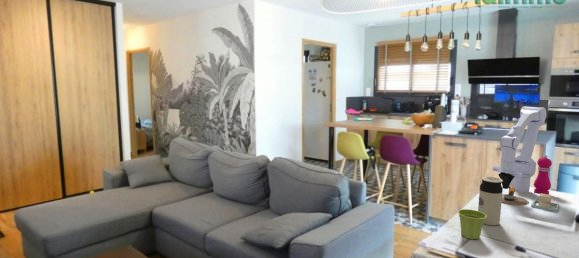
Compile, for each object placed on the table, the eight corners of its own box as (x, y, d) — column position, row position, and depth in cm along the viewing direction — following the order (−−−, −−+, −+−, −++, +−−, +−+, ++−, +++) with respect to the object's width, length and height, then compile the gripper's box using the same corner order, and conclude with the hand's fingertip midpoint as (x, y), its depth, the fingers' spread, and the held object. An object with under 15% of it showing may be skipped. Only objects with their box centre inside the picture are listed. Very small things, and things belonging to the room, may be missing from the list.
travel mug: (496, 219, 149) (500, 177, 147) (502, 227, 141) (506, 182, 139) (475, 217, 151) (478, 175, 149) (479, 224, 144) (483, 180, 141)
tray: (533, 204, 167) (534, 199, 167) (558, 209, 161) (559, 203, 161) (530, 209, 160) (531, 204, 160) (556, 215, 154) (557, 209, 154)
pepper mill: (529, 192, 185) (533, 154, 183) (538, 190, 188) (542, 152, 186) (544, 196, 179) (548, 156, 176) (553, 194, 182) (557, 155, 179)
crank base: (493, 194, 181) (493, 191, 181) (531, 202, 171) (531, 198, 170) (485, 203, 169) (485, 199, 169) (525, 211, 159) (526, 207, 158)
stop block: (539, 206, 164) (540, 193, 163) (550, 208, 161) (551, 195, 160) (538, 208, 161) (539, 195, 160) (549, 210, 158) (550, 197, 157)
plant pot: (460, 228, 140) (461, 207, 138) (487, 235, 134) (489, 213, 133) (453, 236, 132) (454, 214, 131) (481, 244, 127) (483, 220, 125)
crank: (507, 194, 176) (507, 185, 176) (516, 196, 174) (517, 187, 173) (503, 198, 169) (503, 189, 169) (512, 200, 167) (513, 191, 166)
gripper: (488, 158, 179) (486, 185, 181) (515, 164, 165) (512, 193, 167) (499, 157, 181) (497, 183, 183) (526, 163, 168) (524, 192, 170)
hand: (505, 188), depth 175 cm, fingers closed
